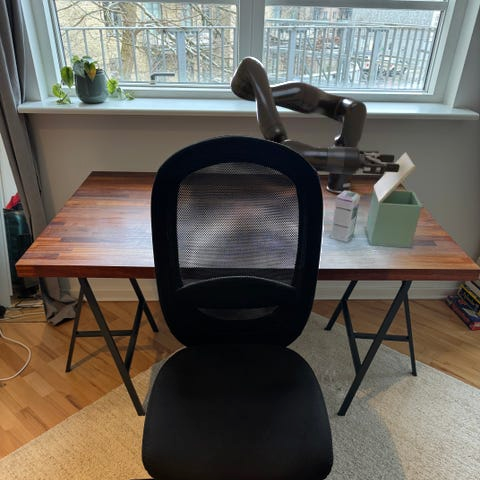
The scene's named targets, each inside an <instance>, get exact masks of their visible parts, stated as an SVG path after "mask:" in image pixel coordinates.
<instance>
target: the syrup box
mask: <svg viewBox="0 0 480 480" xmlns="http://www.w3.org/2000/svg"><path fill="white" fill-rule="evenodd" d="M360 201H361V193H360V192H359V193H358V192H356V191H352V190H350V191H345V190H344V191H343V192H342V193H340V194H338V195H336V200H335V207H334V214H333V221H332V227H331V234H330V238H331V239H333V240H337V241H340V242H344V243H348V242H349V240H351V239H352V238H353V237H354V235H355V234H354V233H355V229H356V223H357V218H358V212H359V206H360Z"/></svg>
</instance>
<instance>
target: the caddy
mask: <svg viewBox="0 0 480 480" xmlns="http://www.w3.org/2000/svg"><path fill="white" fill-rule="evenodd" d="M422 210H423V205H422V203H421V201H420V200H419V198H418V196H417V194H416V193H415V191H414V190H407V189H394V190H393V191H392V192H391V193H390V194H389V195H388V196H387V197H386V198H385V199H384V200H383V201H382V202H381V203H380V202H379V200H378V197H377V195H376V192H375V189H374V188H373V191H372V195H371V201H370V205H369V208H368V213H367V214H368V215H367V219H366V224H365V231H366V233H367V238H368V241H369V244H370V246H380V247H394V248H395V247H396V248H410V249H411V248H412V245H413V241H414V238H415V234H416V230H417V227H418V223H419V220H420V216H421V213H422Z"/></svg>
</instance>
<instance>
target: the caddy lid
mask: <svg viewBox="0 0 480 480" xmlns="http://www.w3.org/2000/svg"><path fill="white" fill-rule="evenodd" d="M394 164H399V165H400V168H399V171H398V172H385V173H384V175H382V176H381V177H380V178H379V180H378V181H377V182H376V183H375V184H374V185H373V190H374V189H375V192H376V195H377V197H378V200H379V202H380V203H381V202H382V201H383V200H384V199H385V198H386V197H387V196H388V195H389V194H390V193H391V192H392V191H393V190H396V188H397V187H399V186H400V185H401V183H402V182H403V181H404V180H405V179H406V178H407V177H408V176H409V175H410V174H411V173H412V172H413V171H414V170H415V169H416V165H415V164H414V161H412V159H411V158H410V156H409V154H408V153H407V152H406V151H405V152H404V153H403V154H402V155H401V156H400V157H399V159H397V160H396V162H395V163H394Z"/></svg>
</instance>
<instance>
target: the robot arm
mask: <svg viewBox="0 0 480 480" xmlns="http://www.w3.org/2000/svg"><path fill="white" fill-rule="evenodd" d="M229 88H230V91H231V93H232V94H233V95H234V96H236V97H237V98H240V99H242V100H243V101H247V102H252V103H253V102H254V103H255V104H256V117H257V124H258V127H259V130H260V132H261V134H262V136H263V139H264V140H265V139H266V140H270V141H274V142H277V143H280V144H283V145H285V146H287V147H289V148H291V149H293V150H295V151H296V152H298V153H299V154H301V155H302V156H303V157H304V158H305V159H306V160H307V161H308V162H309V163H310V164H311V165H312V166H313V167H314V168H315V169H316V171H315V172H325V173H328V177H327V184H326V190H327V191H328V192H330V193H333V194H338V195H339V194H340V193H342V192H343V191H344V190H345V191H352V190H351V189H352V183H353V178H354V177H353V176H354V175H356V174H357V172H358V171H360V170H362V174H367V175H381V176H383V175H384V174H385V173H386V172H398V171H399V168H400V165H399V164H395V163H394V161H395V154H388V153H387V154H384V153H382V152H379V150H362V149H361V150H360V148H359V144H360V142H361V140H362V138H363V134H364V130H365V126H366V122H367V115H368V110H367V109H368V108H367V106H366V104H365V103H364V102H363V101H361V100H358V99H356V98H354V97H349V96H342V95H337V94H332V93H328V92H326V91H325V90H322V89H321V88H319V87H317V86H316V85H315V86H314V85H312V84H309V83H306V82H304V81H300V80H290V81H286V82H282V83H278V84H274V85H270V80H269V76H268V73H267V71H266V68H265V67H264V65H263V64H262V62H261V61H259V60H258V59H257V58H255V57H252V56H245V57H243V58H242V60H241V61H240V62H239V64H238V66H237V68H236V70H235V72H234V74H233V76H232V78H231V80H230V83H229ZM277 107H279V108H283V109H286V110H289V111H292V112H296V113H299V114H304V115H311V116H314V115H315V116H316V115H317V116H318V115H319V116H323V117H325V118H328V119H330V120H333V121H335V122H336V123H339V124H340V125H342V126H341V131H340V134H337V135H335V136H334V139H333V144H332V146H317V145H311V144H308V143H305V142H302V141H299V140H295V139H289V135H288V131H287V128H286V126H285V124H284V122H283V120H282V117H281V115H280V114H279V110H278V108H277ZM266 140H265V141H266Z"/></svg>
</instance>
